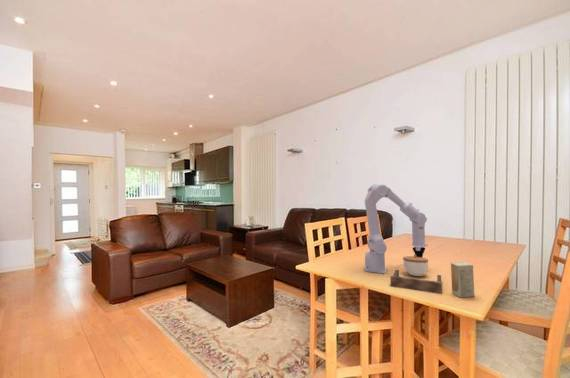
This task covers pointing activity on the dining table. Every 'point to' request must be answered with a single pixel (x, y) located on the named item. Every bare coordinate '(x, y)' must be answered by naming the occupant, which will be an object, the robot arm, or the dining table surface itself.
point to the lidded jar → (415, 265)
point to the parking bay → (416, 283)
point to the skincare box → (462, 279)
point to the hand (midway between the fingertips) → (419, 261)
